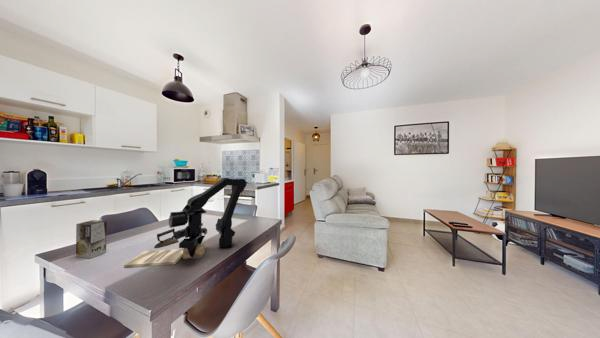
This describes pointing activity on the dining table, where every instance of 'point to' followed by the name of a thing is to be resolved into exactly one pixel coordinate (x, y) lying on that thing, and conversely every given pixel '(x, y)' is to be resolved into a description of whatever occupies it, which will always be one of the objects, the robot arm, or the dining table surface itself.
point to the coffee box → (91, 238)
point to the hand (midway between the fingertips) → (194, 254)
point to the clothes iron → (167, 241)
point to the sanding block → (198, 253)
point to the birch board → (156, 258)
